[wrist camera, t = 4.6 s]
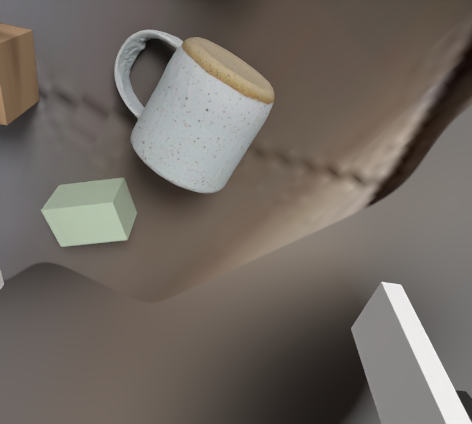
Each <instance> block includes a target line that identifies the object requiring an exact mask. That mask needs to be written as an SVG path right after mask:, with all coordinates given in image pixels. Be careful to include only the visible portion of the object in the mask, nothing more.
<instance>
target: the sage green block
mask: <svg viewBox="0 0 472 424" xmlns="http://www.w3.org/2000/svg"><path fill="white" fill-rule="evenodd" d="M41 212H42V213H43V215H44V217H45V219H46V221H47V222H48V224H49V226H50V228H51V230H52V231H53V233H54V235H55V237H56V238H57V240H58V242H59V244H60V246H61V247H64V246H74V245H83V244H93V243H103V242H112V241H122V240H128V237H129V235H130V232H131V229H132V226H133V223H134V221H135V218H136V215H137V212H136V209H135V206H134V203H133V201H132V198H131V195H130V192H129V190H128V187H127V184H126V181H125V178H116V179H107V180H98V181H90V182H81V183H73V184H64V185H59V186H58V188H57V189H56V190H55V192H54V193H53V194H52V196H51V197H50V198H49V200H48V201H47V203H46V204H45V205H44V207H43V208H42V209H41Z"/></svg>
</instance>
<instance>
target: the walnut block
mask: <svg viewBox="0 0 472 424" xmlns="http://www.w3.org/2000/svg"><path fill="white" fill-rule="evenodd" d="M38 101H39V91H38V81H37V71H36V61H35V51H34V41H33V31H32V30H29V29H25V28H20V27H16V26H11V25H7V24H3V23H0V124H2V125H8V124H10V123H11V122H12V121H13V120H15V119H16V118H17V117H19V116H20V115H21V114H22V113H24V112H25V111H26V110H28V109H29V108H30V107H31V106H33V105H34V104H35V103H37V102H38Z"/></svg>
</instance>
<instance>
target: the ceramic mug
mask: <svg viewBox="0 0 472 424" xmlns="http://www.w3.org/2000/svg"><path fill="white" fill-rule="evenodd" d="M153 38H159V39H161V40H163V41H165V42H167V43H169V44H170V45H171V46H173V47H175V48H176V52H175V53H174V54H173V56H172V58H171V59H170V61H169V62H168V64H167V67H166V69H165V71H164V73H163V75H162V77H161V79H160V81H159V83H158V85H157V87H156V89H155V90H154V92H153V94H152V95H151V97H150V99H149V101H148V102H147V104H146V106H145V108H144V107H143V106H142V104H141V103H140V102H139V100H138V99H137V97H136V96H135V94H134V92H133V90H132V87H131V83H130V75H129V74H130V69H131V66H132V64H133V63H134V61H135V59H136V57H137V55H138V54H139V52H140V51H141V50H142V49H144V48H145V45H146V41H147V40H149V39H153ZM114 75H115V81H116V85H117V88H118V91H119V93H120V95H121V97H122V99H123V101H124V102H125V104H126V105H127V107H128V108H129V109H130V110H131V112H132V113H133V114H134V115H135V116H136V117H137V118H138V121H137V123H136V125H135V127H134V129H133V130H132V134H131V143H132V146H133V148H134V150H135V151H136V153H137V155H138V156H139V157H140V158H141V159H142V161H143V162H144V163H145V164H146V165H148V166H149V167H150V168H151V169H152V170H153V171H155V172H156V173H157V174H158V175H160V176H161V177H163V178H165V179H166V180H168V181H170V182H171V183H173V184H175V185H177V186H179V187H182V188H185V189H188V190H191V191H194V192H199V193H214V192H217V191H219V190H221V189H222V188H223V187H224V186H225V184H226V183H227V181H228V179H229V178H230V176H231V174H232V173H233V171H234V170H235V168H236V167H237V165H238V163H239V162H240V160H241V159H242V157H243V156H244V154H245V152H246V151H247V149H248V147H249V145H250V144H251V142H252V141H253V139H254V137H255V136H256V134H257V133H258V131H259V130H260V128H261V127H262V125H263V124H264V122H265V120H266V118H267V116H268V114H269V112H270V110H271V107H272V105H273V102H274V91H273V88H272V86H271V85H270V83H269V82H268V81H267V80H266V79H265V78H264V77H263V76H262V75H261V74H259V73H258V72H257V71H256V70H255V69H253V68H252V67H251V66H249V65H248V64H247V63H245V62H244V61H243V60H241V59H240V58H238V57H237V56H235V55H234V54H232V53H230V52H229V51H227V50H225V49H224V48H222V47H220V46H218V45H217V44H215V43H213V42H211V41H208V40H206V39H204V38H199V37H193V38H188V39H186V40H185V41H184V42H183V41H181V40H180V39H179V38H177V37H175V36H173V35H170V34H168V33H165V32H161V31H157V30H144V31H139V32H137V33H135V34H133V35H131V36H130V37H129V38H128V39H127V40H126V41H125V42H124V44H123V45H122V47H121V49H120V51H119V53H118V55H117V58H116V61H115V67H114Z"/></svg>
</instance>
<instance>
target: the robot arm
mask: <svg viewBox="0 0 472 424" xmlns="http://www.w3.org/2000/svg"><path fill="white" fill-rule="evenodd" d="M3 285H4V283H3V279H2V275H1V270H0V289H1V288H2V286H3ZM351 330H352V333H353V336H354V339H355V342H356V345H357V349H358V352H359V355H360V358H361V361H362V364H363V367H364V370H365V374H366V377H367V380H368V383H369V386H370V389H371V393H372V396H373V399H374V402H375V405H376V408H377V411H378V414H379V418H380V421H381V424H472V398H471V397H470V396H469V395H468V393H467V392H465V391H456V390H455V389H454V388H453V385H452V383H451V381H450V379H449V378H448V376H447V374H446V372H445V370H444V368H443V366H442V364H441V362H440V360H439V358H438V356H437V354H436V352H435V350H434V348H433V346H432V344H431V342H430V340H429V339H428V337H427V335H426V333H425V331H424V329H423V327H422V325H421V323H420V321H419V319H418V317H417V315H416V313H415V311H414V309H413V307H412V305H411V304H410V301H409V299H408V297H407V296H406V294H405V292H404V290H403V288H402V286H401V285H398V284H392V283H385V282H381V283H380V285H379V286H378V288H377V289H376V291H375V293H374V294H373V296H372V297H371V299H370V300H369V302H368V303H367V305H366V306H365V308H364V309H363V311H362V313H361V314H360V316H359V317H358V319H357V320H356V322H355V323H354V325H353V326H352V328H351Z"/></svg>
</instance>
